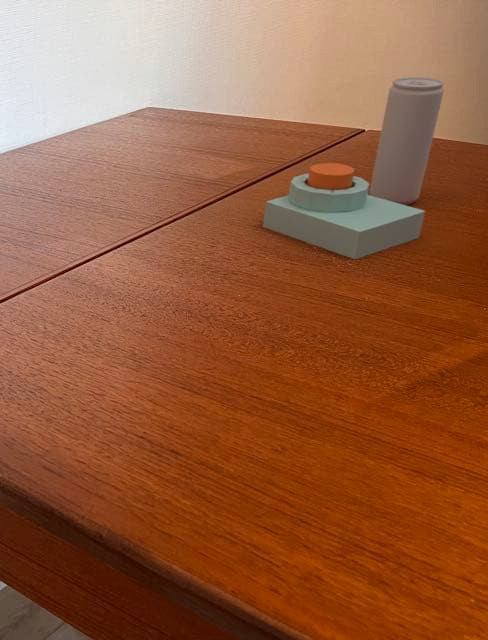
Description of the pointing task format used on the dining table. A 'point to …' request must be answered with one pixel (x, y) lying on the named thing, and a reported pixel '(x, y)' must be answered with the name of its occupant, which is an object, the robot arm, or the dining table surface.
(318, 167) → the button
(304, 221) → the control box
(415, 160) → the beverage can
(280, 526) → the dining table surface
